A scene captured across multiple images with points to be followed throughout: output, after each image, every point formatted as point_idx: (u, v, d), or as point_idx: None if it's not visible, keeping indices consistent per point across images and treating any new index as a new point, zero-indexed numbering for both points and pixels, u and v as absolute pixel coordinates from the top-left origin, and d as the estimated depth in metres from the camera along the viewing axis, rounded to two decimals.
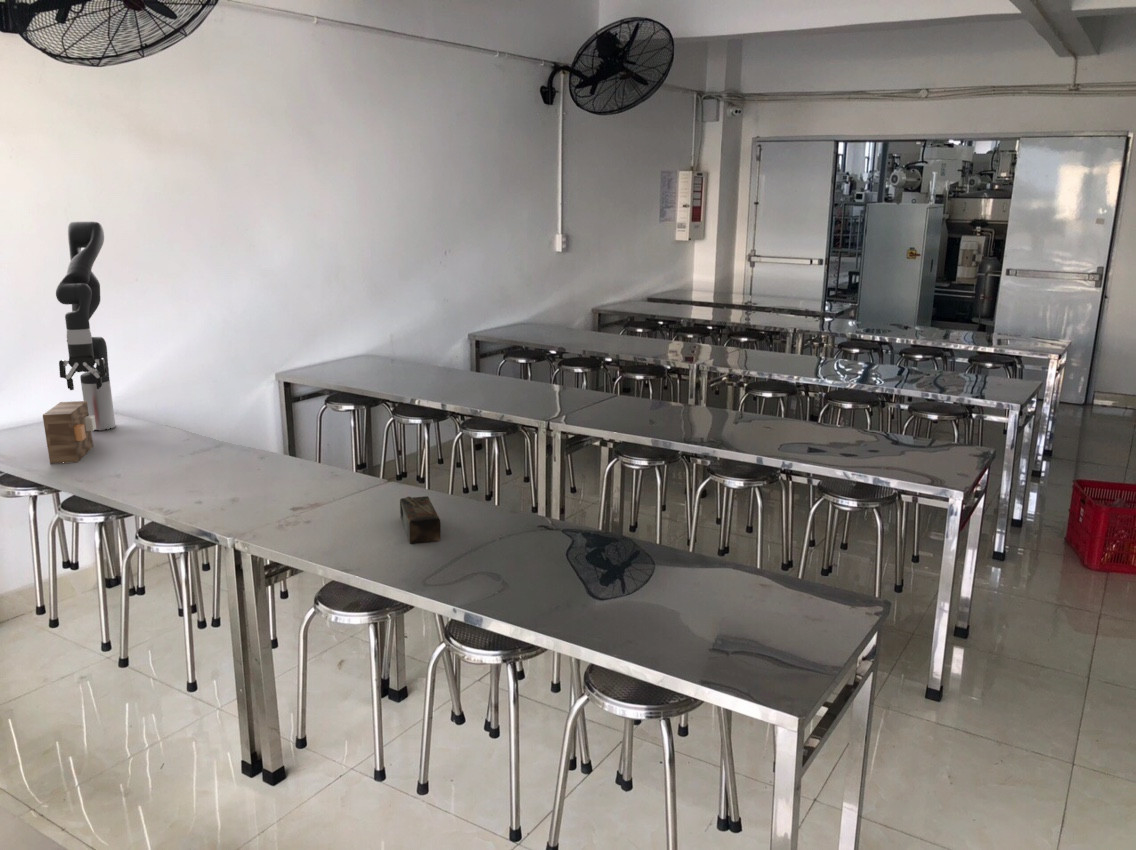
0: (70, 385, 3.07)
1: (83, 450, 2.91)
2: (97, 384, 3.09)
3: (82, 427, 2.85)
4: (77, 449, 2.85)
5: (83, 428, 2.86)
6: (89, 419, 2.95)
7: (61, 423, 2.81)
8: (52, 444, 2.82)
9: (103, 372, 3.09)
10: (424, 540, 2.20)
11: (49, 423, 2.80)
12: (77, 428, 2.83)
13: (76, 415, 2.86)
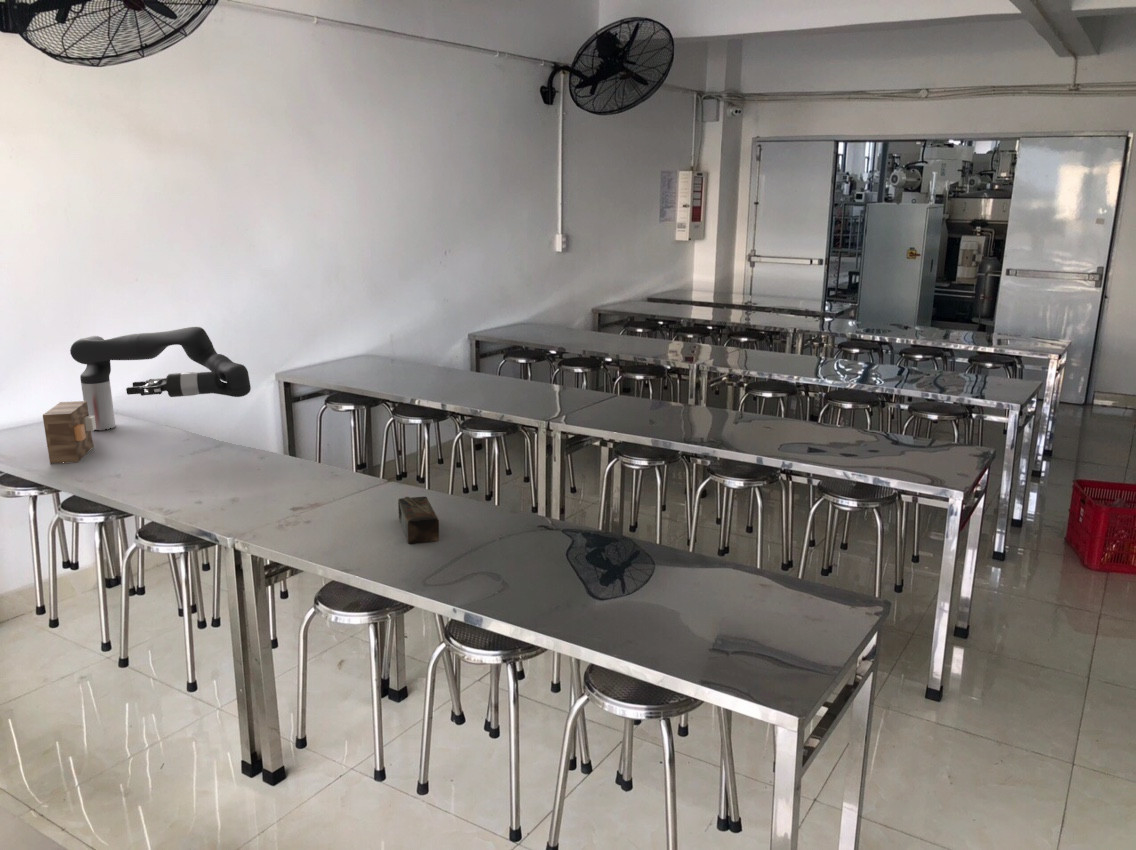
0: (138, 382, 2.89)
1: (83, 450, 2.91)
2: (131, 387, 2.81)
3: (82, 427, 2.85)
4: (77, 449, 2.85)
5: (83, 428, 2.86)
6: (89, 419, 2.95)
7: (61, 423, 2.81)
8: (52, 444, 2.82)
9: (144, 387, 2.79)
10: (422, 540, 2.19)
11: (49, 423, 2.80)
12: (77, 428, 2.83)
13: (76, 415, 2.86)
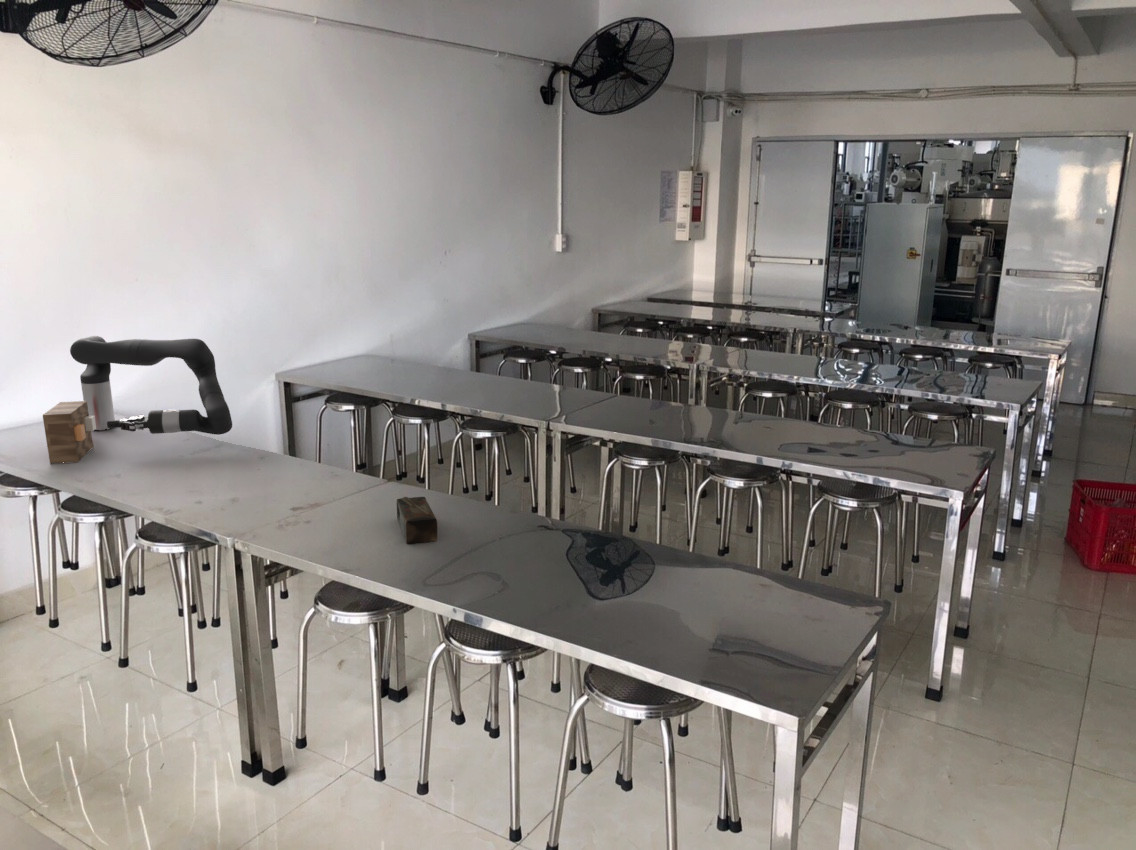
0: (113, 420, 2.87)
1: (83, 450, 2.91)
2: (112, 421, 2.86)
3: (82, 427, 2.85)
4: (77, 449, 2.85)
5: (83, 428, 2.86)
6: (89, 419, 2.95)
7: (61, 423, 2.81)
8: (52, 444, 2.82)
9: (124, 421, 2.85)
10: (420, 540, 2.19)
11: (49, 423, 2.80)
12: (77, 428, 2.83)
13: (76, 415, 2.86)
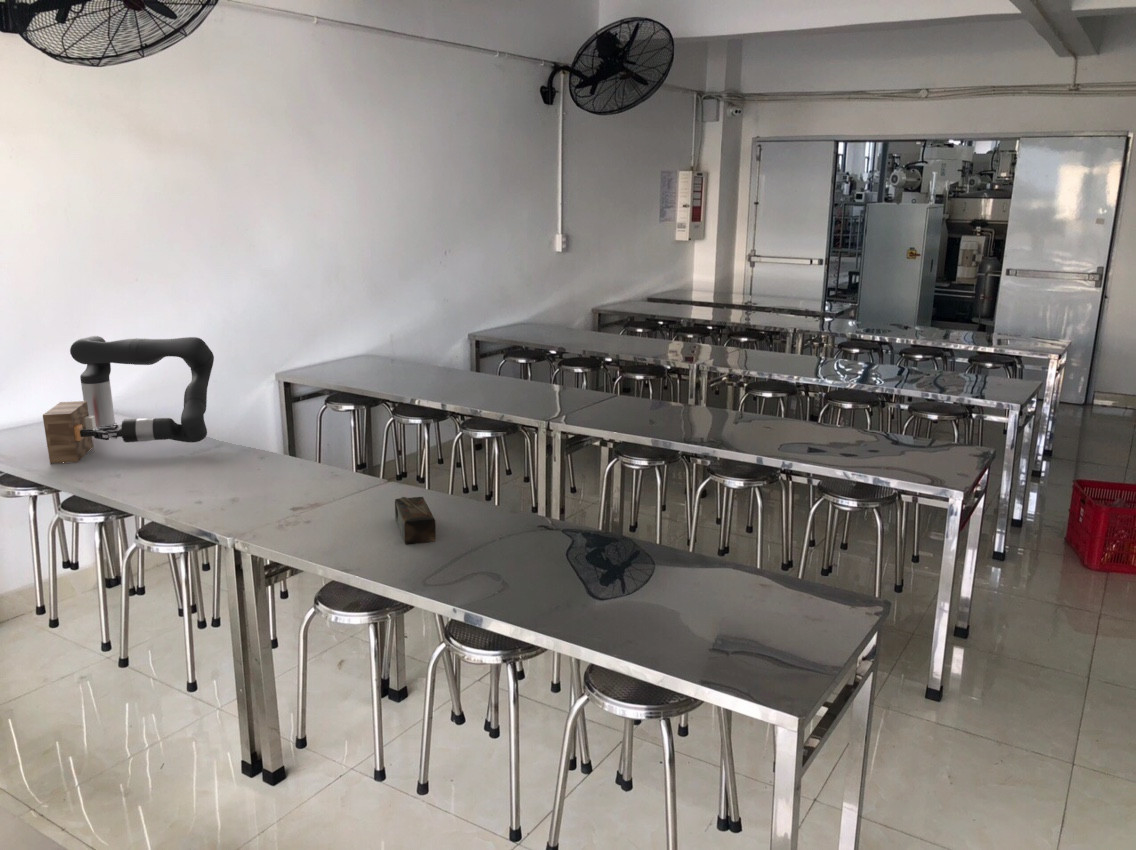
0: (86, 429, 2.86)
1: (83, 450, 2.91)
2: (85, 429, 2.85)
3: (80, 427, 2.85)
4: (77, 449, 2.85)
5: (81, 428, 2.86)
6: (89, 419, 2.95)
7: (61, 423, 2.81)
8: (52, 444, 2.82)
9: (97, 430, 2.84)
10: (419, 540, 2.19)
11: (49, 423, 2.80)
12: (75, 428, 2.83)
13: (76, 415, 2.86)
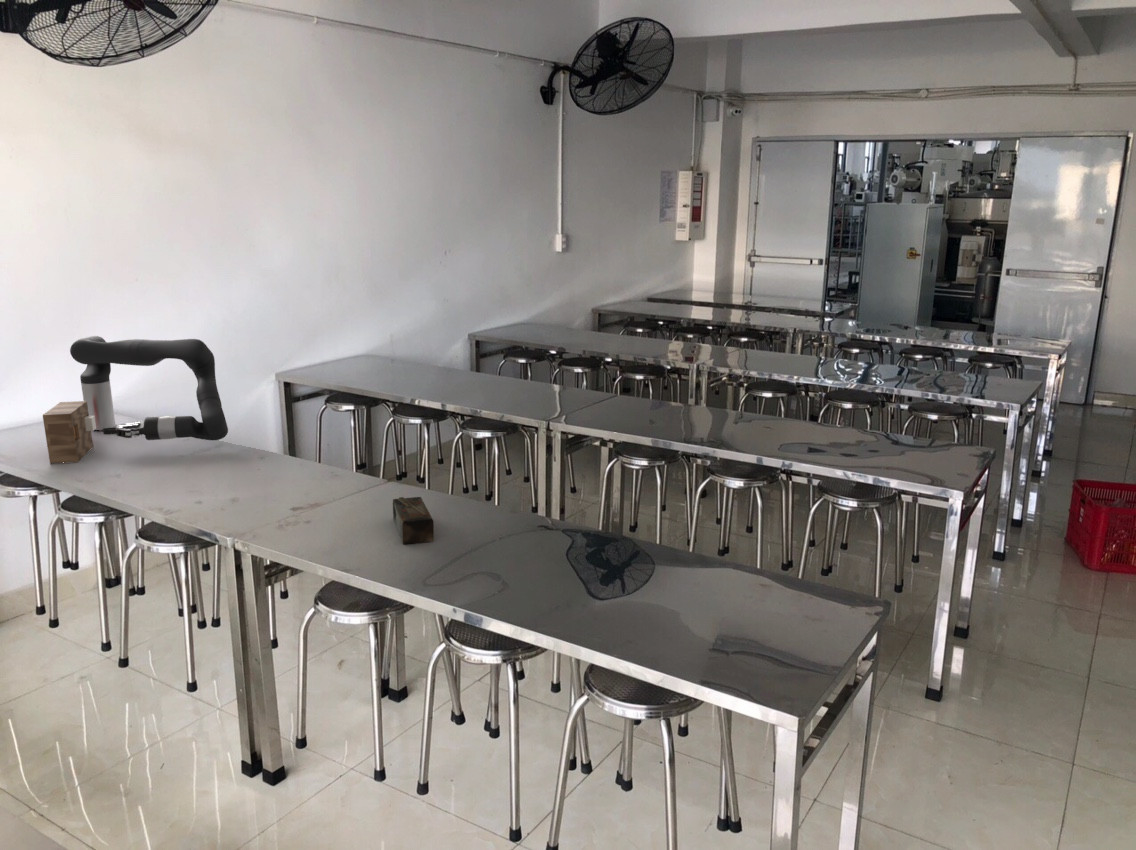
0: (109, 427, 2.88)
1: (83, 450, 2.91)
2: (108, 427, 2.87)
3: None
4: (77, 449, 2.85)
5: None
6: (89, 419, 2.95)
7: (61, 423, 2.81)
8: (52, 444, 2.82)
9: (120, 428, 2.86)
10: (417, 540, 2.19)
11: (49, 423, 2.80)
12: None
13: (76, 415, 2.86)
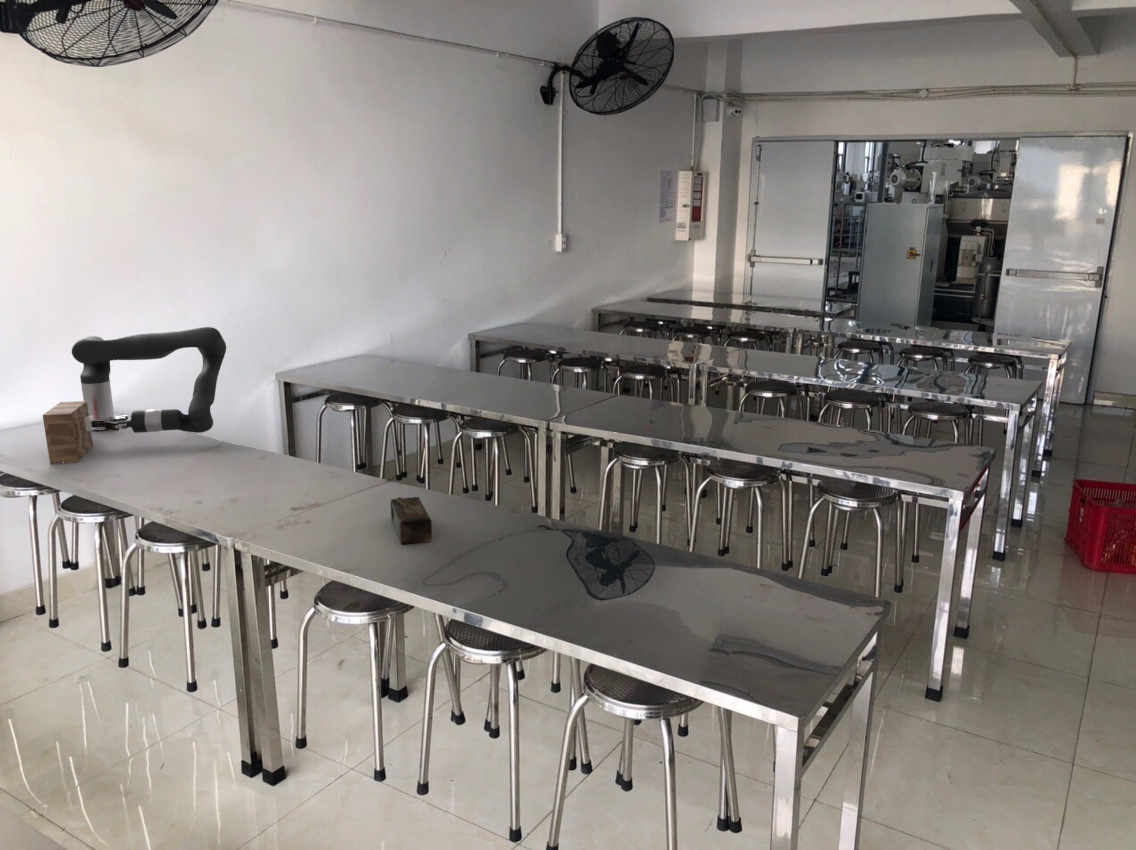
0: (97, 420, 2.97)
1: (83, 450, 2.91)
2: (96, 420, 2.96)
3: None
4: (77, 449, 2.85)
5: None
6: (88, 419, 2.95)
7: (61, 423, 2.81)
8: (52, 444, 2.82)
9: (108, 421, 2.95)
10: (415, 541, 2.19)
11: (49, 423, 2.80)
12: None
13: (76, 415, 2.86)
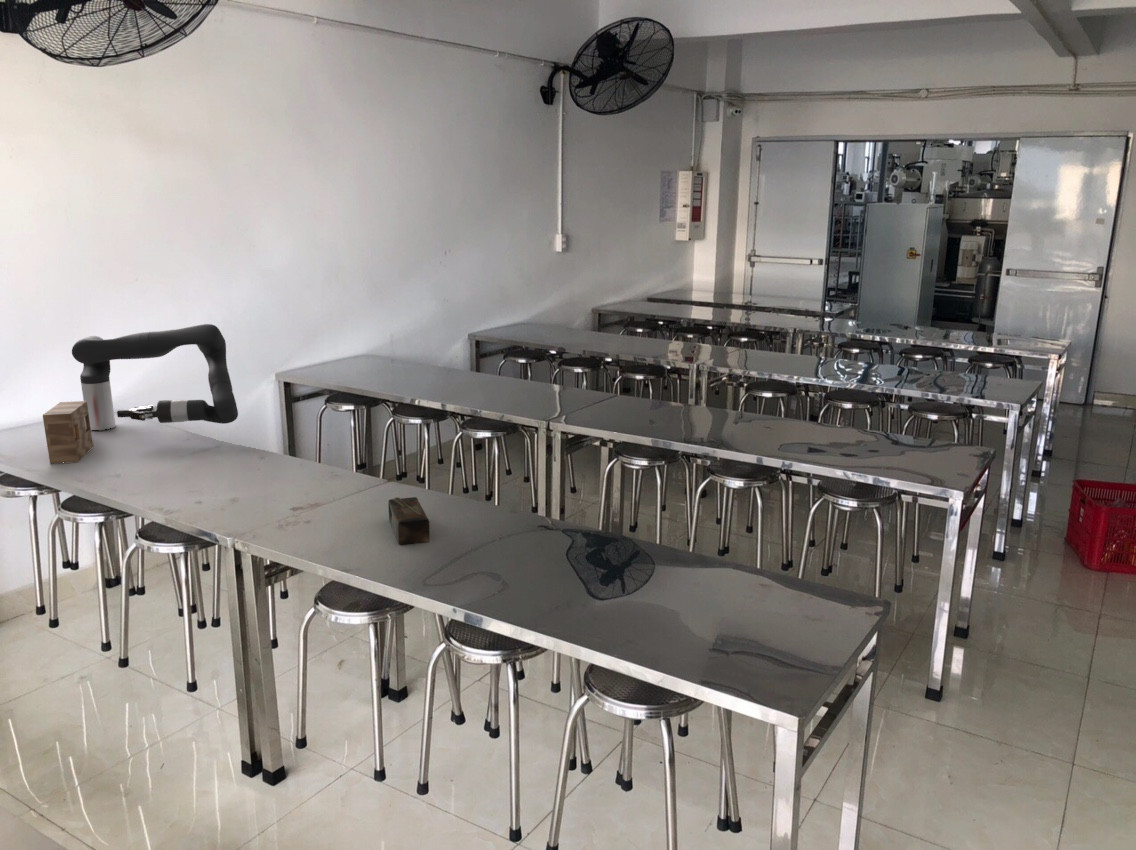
0: (123, 410, 2.97)
1: (83, 450, 2.91)
2: (122, 410, 2.96)
3: None
4: (77, 449, 2.85)
5: None
6: None
7: (61, 423, 2.81)
8: (52, 444, 2.82)
9: (134, 411, 2.95)
10: (412, 541, 2.19)
11: (49, 423, 2.80)
12: None
13: (76, 415, 2.86)
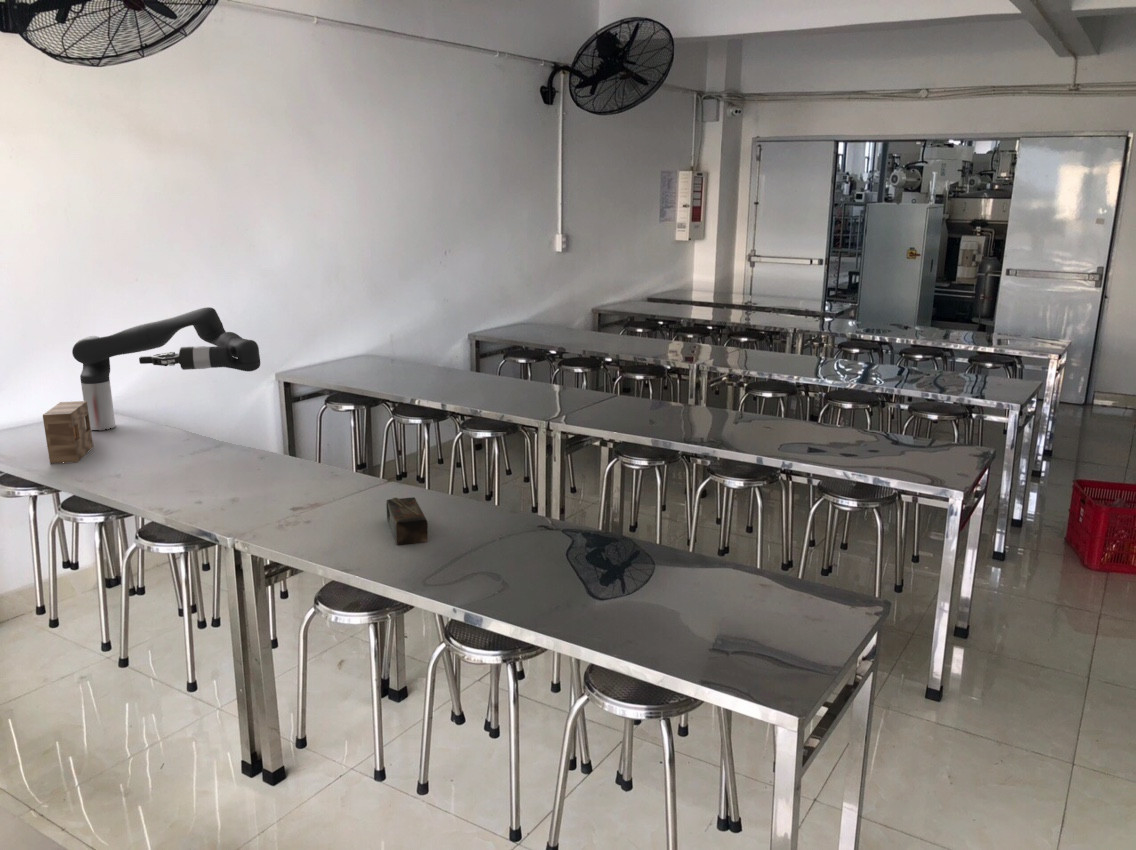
0: (145, 356, 2.94)
1: (83, 450, 2.91)
2: (144, 356, 2.93)
3: None
4: (77, 449, 2.85)
5: None
6: None
7: (61, 423, 2.81)
8: (52, 444, 2.82)
9: (156, 357, 2.92)
10: (411, 541, 2.19)
11: (49, 423, 2.80)
12: None
13: (76, 415, 2.86)
